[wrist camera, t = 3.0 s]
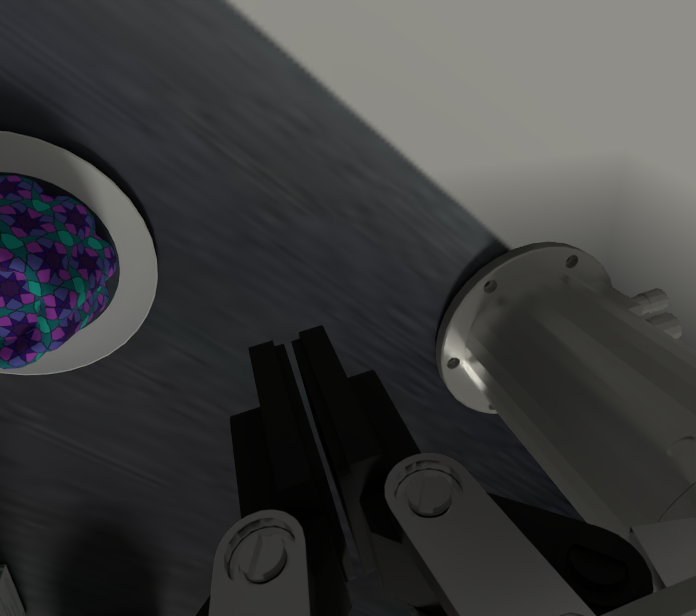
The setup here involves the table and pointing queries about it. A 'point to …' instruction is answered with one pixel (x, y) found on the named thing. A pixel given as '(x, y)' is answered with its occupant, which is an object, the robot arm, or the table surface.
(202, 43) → the table surface
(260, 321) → the table surface
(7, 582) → the syrup box
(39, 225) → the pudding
